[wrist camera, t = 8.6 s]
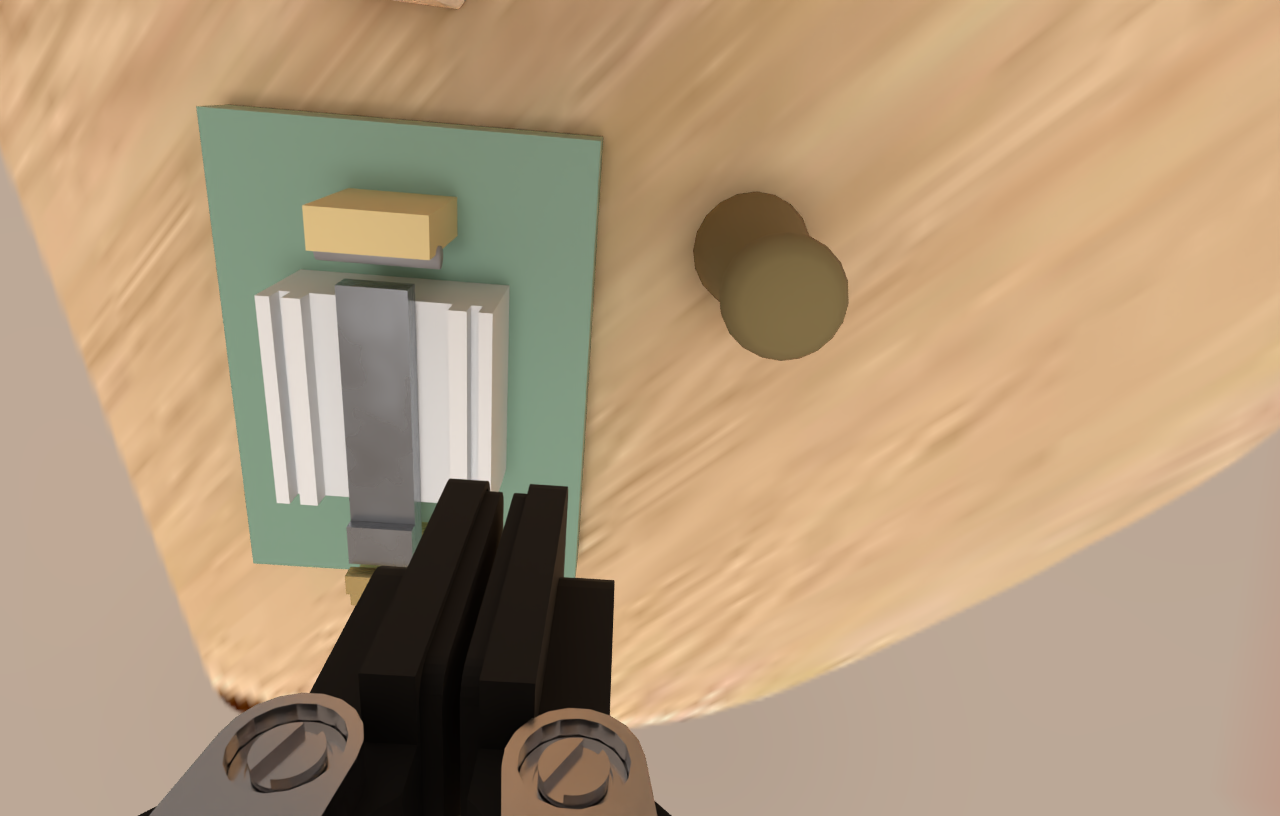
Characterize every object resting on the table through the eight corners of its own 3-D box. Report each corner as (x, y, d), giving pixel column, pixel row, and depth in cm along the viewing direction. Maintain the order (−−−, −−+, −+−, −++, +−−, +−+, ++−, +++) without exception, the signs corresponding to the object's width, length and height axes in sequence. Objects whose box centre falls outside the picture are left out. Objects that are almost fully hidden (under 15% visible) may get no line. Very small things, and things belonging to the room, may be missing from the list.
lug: (385, 506, 43) (344, 576, 37) (440, 510, 43) (409, 580, 37) (386, 538, 44) (347, 611, 38) (441, 541, 44) (410, 615, 38)
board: (228, 104, 38) (121, 110, 30) (603, 136, 38) (595, 150, 31) (275, 534, 47) (204, 625, 39) (577, 554, 48) (567, 647, 40)
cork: (690, 307, 42) (708, 379, 32) (696, 189, 39) (718, 227, 29) (803, 309, 42) (858, 382, 32) (816, 193, 40) (880, 231, 29)
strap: (344, 278, 34) (329, 288, 32) (414, 283, 34) (403, 294, 32) (361, 542, 39) (348, 563, 37) (422, 546, 39) (412, 567, 37)
